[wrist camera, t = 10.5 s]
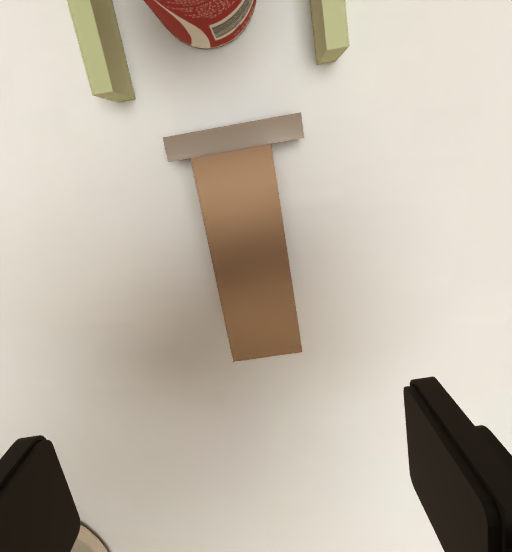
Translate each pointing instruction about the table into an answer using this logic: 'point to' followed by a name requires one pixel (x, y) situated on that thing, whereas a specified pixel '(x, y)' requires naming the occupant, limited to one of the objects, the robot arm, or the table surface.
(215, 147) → the scraper
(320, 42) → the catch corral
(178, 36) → the soda can
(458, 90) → the table surface
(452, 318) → the table surface
